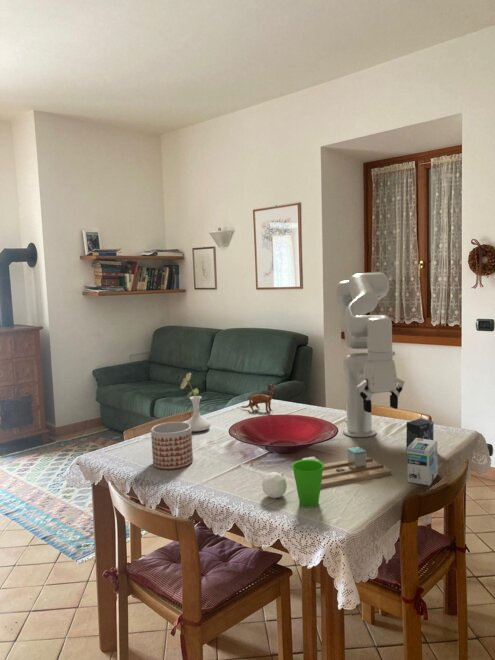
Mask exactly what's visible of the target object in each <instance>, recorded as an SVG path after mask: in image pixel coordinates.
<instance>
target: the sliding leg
mask: <svg viewBox="0 0 495 660" xmlns="http://www.w3.org/2000/svg"><path fill="white" fill-rule="evenodd" d="M366 457H367V450H365V449H363V448H362V447H360V446H355V447H354V446H353V447H349V448H348V447H347V460H348V466H350V467H351V468H353V469H358V468H363V467H366Z"/></svg>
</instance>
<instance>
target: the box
mask: <svg viewBox="0 0 495 660" xmlns="http://www.w3.org/2000/svg"><path fill="white" fill-rule="evenodd" d="M416 438H421V439H428V440H434V421H432V420H429V419H425V418H421V417H420V418H418V419H414V420H411V421H410V420H409V421H407V422H406V447H405V448H406V452H407V447H408V446H409V445H410V444H411V443H412V442H413V441H414V440H415V439H416Z"/></svg>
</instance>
